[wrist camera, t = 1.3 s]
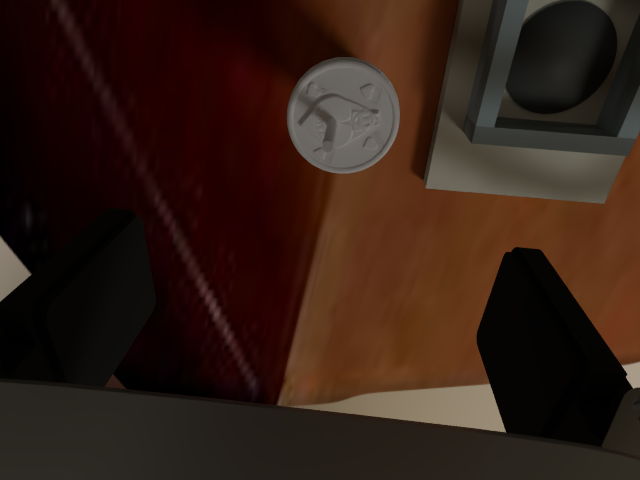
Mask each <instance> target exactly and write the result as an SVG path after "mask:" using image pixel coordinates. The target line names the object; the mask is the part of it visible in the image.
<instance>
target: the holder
mask: <svg viewBox="0 0 640 480" xmlns="http://www.w3.org/2000/svg"><path fill="white" fill-rule="evenodd" d="M639 131H640V0H459V4H458V9H457V14H456V19H455V25H454V30H453V35H452V40H451V45H450V50H449V55H448V60H447V65H446V70H445V75H444V80H443V85H442V90H441V95H440V100H439V105H438V110H437V115H436V120H435V125H434V130H433V135H432V140H431V145H430V150H429V155H428V160H427V165H426V170H425V175H424V180H423V181H424V184H425V187H426V188H429V189H441V190H452V191H464V192H476V193H487V194H499V195H510V196H522V197H534V198H545V199H557V200H568V201H580V202H591V203H603V204H604V203H605V201H606V198H607V196H608V194H609V192H610V190H611V187H612V185H613V183H614V181H615V178H616V176H617V174H618V172H619V170H620V167H621V165H622V163H623V161H624V158H625V156H628V155H629V153H630V151H631V149H632V146H633V144H634V142H635V140H636V138H637V135H638V133H639Z"/></svg>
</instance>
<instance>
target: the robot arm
mask: <svg viewBox="0 0 640 480" xmlns="http://www.w3.org/2000/svg"><path fill="white" fill-rule="evenodd" d="M155 302H156V297H155V291H154V286H153V280H152V274H151V268H150V263H149V257H148V251H147V245H146V240H145V234H144V228H143V223H142V219H141V218H140V217H139V216H136V214H135V213H134V212H133V211H132V210H124V209H114V208H108V209H107V210H105V211H104V212H103V213H102V214H101V215H100V216H98V217H97V218H96V219H95V220H94V221H93V222H92V223H90V224H89V225H88V226H87V227H86V228H85V229H83V230H82V231H81V232H80V233H79V234H78V235H77V236H75V237H74V238H73V239H72V240H71V241H70V242H69V243H67V244H66V245H65V246H64V247H63V248H62V249H60V250H59V251H58V252H57V253H56V254H55V255H54V256H52V257H51V258H50V259H49V260H48V261H47V262H46V263H44V264H43V265H42V266H41V267H40V268H39V269H37V270H36V271H35V272H34V273H33V274H32V275H31V276H29V277H28V278H27V279H26V280H25V281H24V282H23V283H21V284H20V285H19V286H18V287H17V288H16V289H14V290H13V291H12V292H11V293H10V294H9V295H8V296H6V297H5V298H4V299H3V300H2V301H1V302H0V480H640V388H635V389H633V388H632V386H631V385H630V383H629V382H628V380H627V379H626V376H627V373H626V371H625V370H624V369H623V367H622V366H621V364H620V363H619V361H618V360H617V358H616V357H615V356H614V354H613V353H612V351H611V350H610V348H609V347H608V345H607V344H606V343H605V341H604V340H603V338H602V337H601V335H600V334H599V333H598V331H597V330H596V328H595V327H594V325H593V324H592V322H591V321H590V320H589V318H588V317H587V315H586V314H585V312H584V311H583V310H582V308H581V307H580V305H579V304H578V302H577V301H576V299H575V298H574V297H573V295H572V294H571V292H570V291H569V289H568V288H567V287H566V285H565V284H564V282H563V281H562V279H561V278H560V276H559V275H558V274H557V272H556V271H555V269H554V268H553V266H552V265H551V264H550V262H549V261H548V259H547V258H546V256H545V255H544V253H543V252H542V251H541V250H539V249H530V248H520V247H515V248H514V249H513V250H512V251H511V252H506V253H505V254H504V256H503V259H502V262H501V265H500V267H499V270H498V273H497V276H496V279H495V282H494V285H493V288H492V291H491V294H490V296H489V299H488V302H487V305H486V308H485V311H484V314H483V317H482V320H481V322H480V325H479V328H478V332H477V345H478V349H479V352H480V355H481V358H482V361H483V364H484V367H485V370H486V373H487V376H488V379H489V382H490V385H491V388H492V391H493V394H494V397H495V400H496V403H497V406H498V409H499V412H500V415H501V418H502V421H503V424H504V427H505V430H506V433H505V432H497V431H489V430H482V429H475V428H466V427H458V426H448V425H441V424H432V423H424V422H415V421H406V420H398V419H390V418H381V417H372V416H364V415H356V414H346V413H338V412H329V411H320V410H312V409H303V408H294V407H285V406H276V405H267V404H258V403H249V402H240V401H231V400H222V399H213V398H203V397H194V396H185V395H175V394H166V393H156V392H147V391H137V390H128V389H119V388H109V387H105V385H106V383H107V382H108V380H109V379H110V377H111V376H112V374H113V373H114V371H115V370H116V368H117V366H118V365H119V363H120V362H121V360H122V359H123V357H124V356H125V354H126V352H127V351H128V349H129V348H130V346H131V345H132V343H133V342H134V340H135V338H136V337H137V335H138V334H139V332H140V331H141V329H142V328H143V326H144V324H145V323H146V321H147V320H148V318H149V317H150V315H151V314H152V312H153V310H154V307H155Z"/></svg>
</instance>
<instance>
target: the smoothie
mask: <svg viewBox="0 0 640 480" xmlns="http://www.w3.org/2000/svg"><path fill="white" fill-rule="evenodd" d="M399 115H400V110H399V103H398V97H397V94H396V92H395V90H394V88H393V85H392V83H391V82H390V81H389V79H388V78H387V77H386V76H385V75H384V73H383V72H382V71H381V70H379V69H378V68H376V67H375V66H373V65H372V64H370V63H369V62H366V61H363V60H360V59H357V58H354V57H336V58H332V59H328V60H324V61H322V62H320V63H319V64H317V65H315V66H313V67H312V68H310V69H309V70H308V71H307V72H306V73H305V74H304V75H303V76H302V77H301V78H300V79H299V81H298V83H297V84H296V86H295V88H294V90H293V92H292V94H291V98H290V101H289V104H288V110H287V125H288V130H289V134H290V137H291V139H292V142H293V144H294V145H295V147H296V149H297V150H298V151H299V153H300V154H301V155H302V156H303V157H304V158H305V159H306V160H307V161H308V162H310V163H311V164H313V165H314V166H316V167H318V168H320V169H322V170H325V171H328V172H333V173H353V172H358V171H361V170H363V169H366V168H368V167H370V166H372V165H373V164H375V163H376V162H377V161H379V160H380V159H381V158H382V157H383V156H384V155H385V154H386V153H387V152H388V150H389V149H390V147H391V146H392V144H393V142H394V140H395V138H396V135H397V131H398V127H399Z"/></svg>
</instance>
